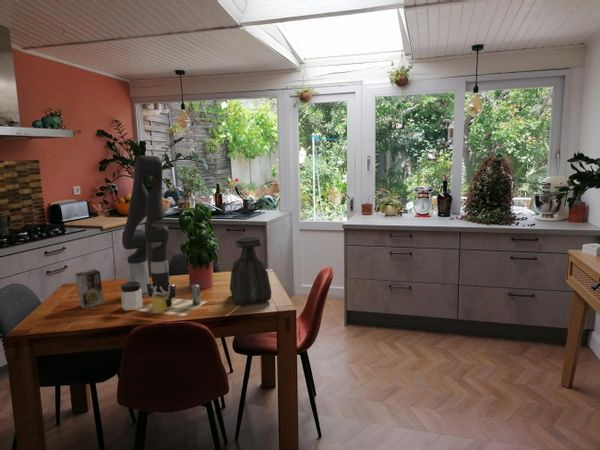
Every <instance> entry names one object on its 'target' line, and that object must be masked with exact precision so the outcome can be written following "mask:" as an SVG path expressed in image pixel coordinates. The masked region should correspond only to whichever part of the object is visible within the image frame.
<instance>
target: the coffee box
mask: <svg viewBox="0 0 600 450" xmlns="http://www.w3.org/2000/svg"><path fill="white" fill-rule="evenodd" d="M75 278H76V284H77V285H76V286H77V292H78V293H77V294H78V300H79V301H78V303H79V306H80V307H82V308H83V309H86V308H87V309H88V308H90V307H95V306H98V305H99V306H100V305H102V304H104V295H103V287H102V280H101V279H102V278H101V271H99V270H98V269H96V268H95V269H94V268H93V269H91V270H86V271H80V272H76V273H75Z"/></svg>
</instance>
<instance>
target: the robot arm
mask: <svg viewBox="0 0 600 450" xmlns="http://www.w3.org/2000/svg"><path fill="white" fill-rule="evenodd" d="M163 170H164V169H163V161H162V159H161V157H160V156H156V155H137V157H136V159H135V163H134V170H133V171H134V174H133V183H132V184H133V185H132V190H131V193H130V194H131V195H130V199H129V205H128V213H127V218H126V221H125V222H126V223H125V226H124V229H123V232H122V236H121V243H122V246H123V248H124V249H125V250H135V249H136V250H135V251H134V252H133V253H132V254H130V255H129V256H127V267H128V276H127V282H139V283H140V288H141V291H142V297H146V296H148V297H151V299H152V298H153V297H155V296H157V295H158V294H160V293H163V294H164V296H165V297H166V299H167V300H166V302H167V307H170V306H171V305H172V301H171V299H172V298H175V297H176V284H175V283H174V284H171V283H170V273H169V271H170V270H169V269H170V268H169V263H168V262H169V261H168V256H167V255H168V252H167V250H168V249H167V248H168V242H169V238H170V230H169V229H170V228H168V226H167V225H157V226H153V224H155V223H158V222H161V221H163V220H164V210H163V208H164V207H163V199H162V198H163V197H162V195H163V172H164V171H163ZM144 177H153V179H154V182H153V186H152V188H151V190H150V192H148V191H147V188H146V187H145V185H144ZM144 219H146V224H145V229H137V228H138V226H139V225H140V224H141V223H142V222H143V221H144ZM148 243H149V244H153V243H160V244H159V245H157V246H155V247H152V248H151V249H150V250H149V256H150V257H149V258H150V276H151V278H150V277H149V265H148ZM150 279H151V282H150ZM166 292H167V293H166Z"/></svg>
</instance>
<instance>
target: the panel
mask: <svg viewBox="0 0 600 450" xmlns="http://www.w3.org/2000/svg"><path fill="white" fill-rule="evenodd" d="M172 301H173V306H172V307H170V308H168V309H166V310H165V311H163V312H158V311H153V309H152V302H151V303H148V304H147V305H145V306H142V307H140V308H139V309H137V310H136V312H142V313H143V312H144V313H153V314H154V313H155V314H163V315H171V316H180V317H182V316H183V317H186V316H187V315H188V314H190V313H192V312H194V311H195V310H196V309H198V308H200V307H202V306H203V305H204V304H206V303H207V301H205V300H200V303H201V304H200V305H196V306H195V305H193V303H192V299H185V298H175V297H173V298H172Z"/></svg>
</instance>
